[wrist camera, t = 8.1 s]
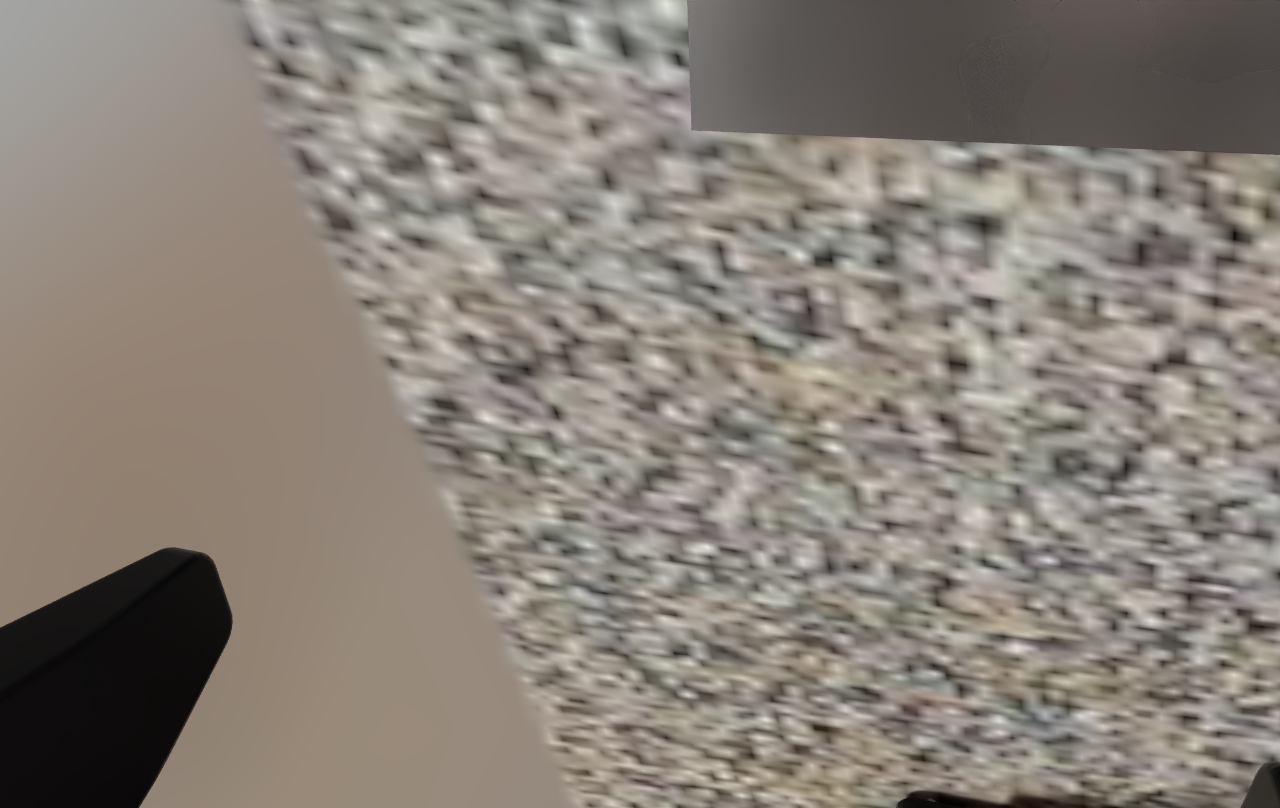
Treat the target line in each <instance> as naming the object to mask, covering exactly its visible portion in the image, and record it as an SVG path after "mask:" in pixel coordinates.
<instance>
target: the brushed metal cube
mask: <svg viewBox="0 0 1280 808" xmlns="http://www.w3.org/2000/svg"><path fill="white" fill-rule="evenodd" d="M687 4H688V34H689V64H690V93H691V123H692V130H697V131H721V132H745V133H769V134H793V135H817V136H841V137H865V138H889V139H913V140H937V141H961V142H985V143H1009V144H1033V145H1057V146H1081V147H1105V148H1129V149H1153V150H1177V151H1201V152H1225V153H1250V154H1274V155H1280V0H687Z"/></svg>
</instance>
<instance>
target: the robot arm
mask: <svg viewBox="0 0 1280 808" xmlns="http://www.w3.org/2000/svg"><path fill="white" fill-rule="evenodd" d="M232 623H233V621H232V613H231V609H230V606H229V603H228V601H227V598H226V594H225V592H224V588H223V586H222V583H221V580H220V577H219V574H218V571H217V568H216V565H215V563H214V561H213V560H212V559H211V558H210V557H209V556H208V555H207V554H205V553H202V552H197V551H191V550H186V549H181V548H175V547H171V548H164V549H161V550H159V551H157V552H155V553H153V554H151V555H149V556H146V557H144V558H142V559H140V560H138V561H136V562H134V563H132V564H130V565H128V566H126V567H124V568H122V569H120V570H118V571H116V572H114V573H112V574H109V575H107V576H105V577H104V578H101V579H99V580H97V581H95V582H93V583H91V584H89V585H87V586H85V587H83V588H81V589H79V590H77V591H75V592H73V593H70V594H68V595H66V596H64V597H62V598H60V599H58V600H56V601H54V602H52V603H50V604H48V605H46V606H44V607H42V608H40V609H38V610H36V611H34V612H31V613H29V614H27V615H25V616H23V617H21V618H19V619H17V620H15V621H13V622H11V623H9V624H7V625H5V626H3V627H1V628H0V808H139V807H140V805H141V804H142V802H143V800H144V799H145V797H146V796H147V794H148V792H149V791H150V789H151V787H152V786H153V784H154V782H155V781H156V779H157V777H158V775H159V773H160V771H161V770H162V768H163V766H164V764H165V762H166V761H167V759H168V757H169V755H170V753H171V751H172V749H173V747H174V745H175V743H176V741H177V739H178V738H179V735H180V734H181V732H182V730H183V728H184V726H185V724H186V722H187V720H188V718H189V716H190V714H191V712H192V710H193V708H194V706H195V704H196V702H197V701H198V699H199V697H200V695H201V693H202V691H203V689H204V687H205V685H206V683H207V681H208V679H209V677H210V675H211V673H212V671H213V670H214V668H215V665H216V664H217V662H218V660H219V658H220V656H221V654H222V652H223V650H224V648H225V646H226V644H227V642H228V640H229V637H230V634H231V630H232ZM896 808H963V807H958V806H952V805H947V804H942V803H937V802H932V801H927V800H922V799H916V798H908V799H903V800H902V801H900V802H898V804H897V806H896ZM1241 808H1280V763H1279V762H1268V763H1266V764H1264V765H1263V766H1262V767H1261V768H1260V769H1259V770H1258V772H1257V774H1256V776H1255V778H1254V780H1253V782H1252V785H1251V787H1250V789H1249V791H1248V793H1247V795H1246V797H1245V800H1244V802H1243V804H1242V806H1241Z"/></svg>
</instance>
